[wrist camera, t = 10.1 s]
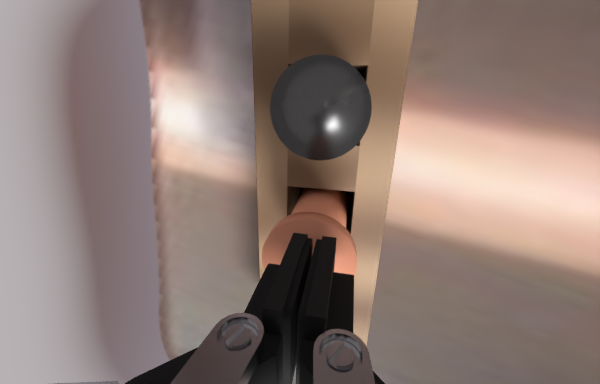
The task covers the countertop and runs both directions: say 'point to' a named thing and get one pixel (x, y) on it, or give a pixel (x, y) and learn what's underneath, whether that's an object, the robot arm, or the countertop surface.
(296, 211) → the rust plug
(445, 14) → the countertop surface
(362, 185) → the socket strip
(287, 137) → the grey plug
